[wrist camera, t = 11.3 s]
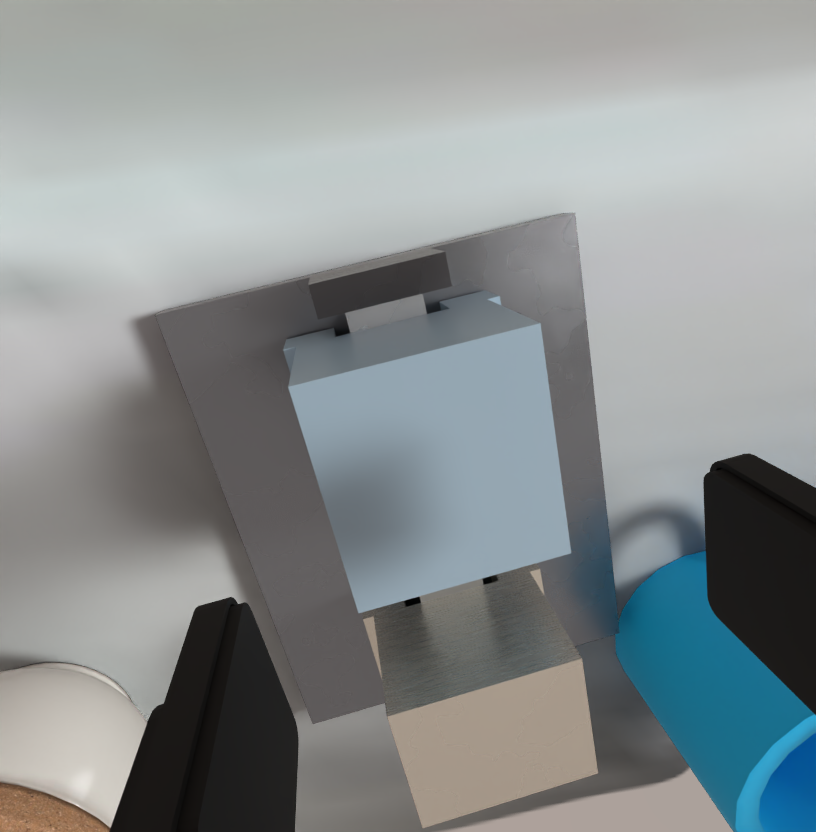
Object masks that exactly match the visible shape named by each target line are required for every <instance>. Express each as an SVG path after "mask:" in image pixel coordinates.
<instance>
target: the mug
mask: <svg viewBox="0 0 816 832" xmlns="http://www.w3.org/2000/svg"><path fill="white" fill-rule="evenodd" d="M619 632H620V633H618V634H615V640H616V655H617V657H618V659H619V661H620V663H621V665H622V667H623V669H624V671H625V673H626V674H627V676H628V677H629V679H630V680H631V681H632V683H633V684H634V686H635V687H636V689H637V690H638V692H639V693H640V695H641V696H642V698H643V699H644V701H645V702H646V704H647V705H648V706H649V708H650V709H651V711H652V712H653V714H654V715H655V717H656V718H657V720H658V721H659V723H660V724H661V726H662V727H663V729H664V730H665V732H666V733H667V734H668V736H669V737H670V739H671V740H672V742H673V743H674V745H675V746H676V748H677V749H678V751H679V752H680V754H681V755H682V757H683V758H684V759H685V761H686V762H687V764H688V765H689V767H690V768H691V770H692V771H693V773H694V774H695V776H696V777H697V779H698V780H699V782H700V783H701V784H702V786H703V787H704V789H705V790H706V792H707V793H708V794H709V796H710V798H711V799H712V801H713V802H714V803H715V805H716V806H717V808H718V810H719V811H720V812H721V814H722V815H723V817H724V818H725V820H726V821H727V823H728V824H729V826H730V827H731V829H732V830H733V831H734V832H816V715H815V714H814V713H813V712H812V711H811V710H810V709H809V708H808V707H807V706H806V705H805V704H804V703H803V702H802V701H801V700H800V699H799V698H798V697H797V696H796V695H795V694H794V693H793V692H792V691H791V690H790V689H789V688H788V687H787V686H786V685H785V684H784V683H783V682H782V681H781V680H780V679H779V678H778V677H777V676H776V675H775V674H774V673H773V672H772V671H771V670H770V669H769V668H768V667H767V666H766V665H765V664H763V663H762V662H761V661H760V660H759V659H758V658H757V657H756V656H755V655H754V654H753V653H752V652H751V651H750V650H749V649H748V648H747V647H746V646H745V645H744V644H743V643H742V642H741V641H740V640H739V639H738V638H737V637H736V636H735V635H734V634H733V633H732V632H731V631H730V630H729V629H728V628H727V627H726V626H725V625H724V624H723V623H722V622H721V621H720V620H719V619H718V618H717V616H716V615H715V614H714V612H713V611H712V609H711V607H710V605H709V601H708V597H707V572H706V551H703V552H699V553H694V554H690V555H686V556H683V557H681V558H679V559H677V560H675V561H673V562H671V563H669V564H668V565H666V566H664V567H662V568H660V569H658V570H657V571H656V572H655V573H654V574H653V575H651V576H650V577H649V578H648V579H647V580H646V581H645V582H644V583H642V584H641V585H640V586H639V587H638V588H637V589H636V591H635V592H634V594H633V595H632V597H631V598H630V600H629V601H628V602H627V604H626V605H625V607H624V608H623V610H622V613H621V616H620V619H619Z"/></svg>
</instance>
